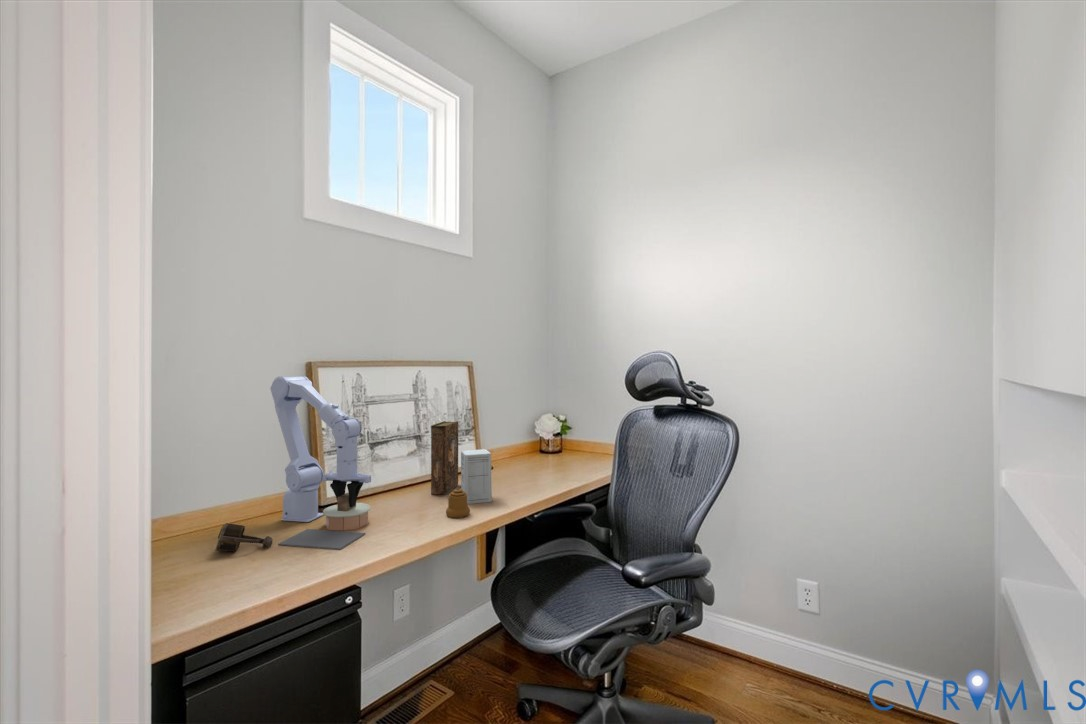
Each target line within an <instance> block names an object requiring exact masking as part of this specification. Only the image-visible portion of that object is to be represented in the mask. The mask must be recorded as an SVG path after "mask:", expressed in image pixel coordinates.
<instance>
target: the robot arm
mask: <svg viewBox="0 0 1086 724" xmlns="http://www.w3.org/2000/svg"><path fill="white" fill-rule="evenodd" d="M269 388H270V392H271V395H272V396H271V397H272V399H273V403H274V408H275V413H276V415H277V419H278V420H277V421H278V423H279V426H280V429H281V432H282V436H283V439H284V443H285V445H286V450H287V452H288V456H289V460H290V461H289V463H288V464H287V466H286V467H285V469H284V471H285V484H286V486H287V487H288V489H287V490H286V491H284V493H283V497H282V518H281V519H280V520H281V521H285V522H299V523H300V522H302V523H309V522H311V521H314V520H316V519H318V518H320V517H323V516H325V515H324V514H323V512H319V488H320V486H321V484H322V482H327V481H329V482H330V485H329V487H330V488H331V489H332V492H333V493H334V496H335V498H336V500H337V497H339V496H341V495H343V494H346V489H347V491H348V492H347V493H349V506H350V507H353V506H355V505H356V503H357V499H358V495H359V493H360V491H361V489H362V487H363V485H364V484H369V483H372V475H370V474H365V473H363V474H362V473H358V437H359V436H360V435H361V433H362V430H363V427H362V424H361V423H362V422H360V421H359V419H358V418H356V417H350V416H349V415H348V414H347V413H345V412H344V411H343V410H342V409H340V407H339V405H338V404H337V403H334V402H330V403H328V401H326V399H325V398H324V397H322V395H321V394H320V393H319V392H318V391H317V390H316V389H315V387H313V382H312V381H311V380H310V379H309V377H307V376H306V375H305V376H304V375H300V376H277V377H275V378H274V380H273V381H272V384H271V385H270V387H269ZM303 400H304V401H306V403H308V404H309V405H311V406H312V408H314V409H316V411H318V417H319V418H320V419H321V420H322V422H324V423H325V425H327V426H328V427H329V429H331V434H332V436H333V438H334V441H335V442H334V444H335V446H336V472H334V473H330V472H329V473H328V472H326V473H324V470H323V468H322V467H321V466H320V463H319V461H318V459H317V458H315V457H313V456H312V455H310V453H309V449H308V445H307V442H306V439H305V435H304V433H303V429H302V426H301V422H300V420H299V417H298V416H299V415H298V412H297V406H298V405H299V404H300V403H301V402H302V401H303ZM348 482H349V483H348Z"/></svg>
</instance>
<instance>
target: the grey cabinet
mask: <svg viewBox="0 0 1086 724" xmlns="http://www.w3.org/2000/svg"><path fill="white" fill-rule="evenodd" d="M460 486H461V487H460V489H462V490H463V491H464V492H465V493H466V494H467V504H468V505H470V504H471V505H472V504H473V505H474V504H482V503H483V504H484V503H491V502H492V500H493V499H492V453H491V452H490V451H488V450H487V449H486V448H484V449H469V450H468V449H467V450H461V451H460Z"/></svg>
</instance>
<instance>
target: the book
mask: <svg viewBox="0 0 1086 724" xmlns="http://www.w3.org/2000/svg"><path fill="white" fill-rule="evenodd" d="M430 428H431V429H430V434H431V435H430V443H431V444H430V446H431V447H430V451H431V452H430V461H431V462H430V495H431V496H446V495H447V494H448V493H451V492H452V490H455V489H456V487H457V486H458V485H459V421H458V420H457V421H445V420H444V421H440V422H437V423H435V424H432V425H431V426H430Z"/></svg>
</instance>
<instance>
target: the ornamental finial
mask: <svg viewBox="0 0 1086 724" xmlns="http://www.w3.org/2000/svg"><path fill="white" fill-rule="evenodd" d="M447 504H448V507H447V508H446V510H445V514H446V516H447V517H448V518H450V517H451V518H450V519H461V517H463V518H466V517H468V516H469V515H470V512H471V509H470V507H469V504H467V494H466V493H465V492H464V491H463V490H462V489H461V488H454V489H453V491H450V493H449V494H448V503H447Z"/></svg>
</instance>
